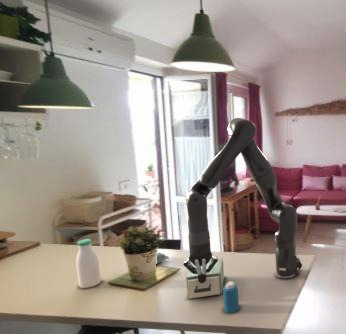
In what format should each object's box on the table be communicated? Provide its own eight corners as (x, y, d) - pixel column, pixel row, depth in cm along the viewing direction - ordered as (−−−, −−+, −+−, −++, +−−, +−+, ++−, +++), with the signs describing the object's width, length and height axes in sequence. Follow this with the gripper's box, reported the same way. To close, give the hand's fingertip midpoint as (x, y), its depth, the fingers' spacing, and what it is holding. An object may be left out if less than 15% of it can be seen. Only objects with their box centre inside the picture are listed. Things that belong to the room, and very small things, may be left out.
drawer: (219, 299, 132) (217, 282, 130) (187, 304, 129) (185, 286, 127) (222, 278, 149) (220, 262, 147) (194, 282, 146) (192, 266, 144)
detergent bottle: (239, 304, 130) (237, 279, 128) (238, 311, 125) (237, 285, 123) (225, 306, 129) (223, 281, 127) (224, 314, 124) (222, 287, 122)
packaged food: (156, 256, 174) (155, 247, 173) (170, 261, 168) (169, 252, 167) (139, 263, 167) (138, 253, 166) (153, 268, 161) (152, 259, 160)
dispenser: (221, 293, 138) (220, 272, 136) (188, 298, 134) (186, 277, 133) (224, 277, 152) (222, 257, 150) (193, 281, 148) (191, 261, 147)
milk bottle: (103, 283, 147) (97, 240, 144) (81, 290, 142) (74, 245, 138) (98, 277, 152) (93, 236, 149) (77, 284, 147) (71, 241, 143)
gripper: (178, 246, 124) (182, 289, 127) (216, 242, 127) (219, 284, 130) (182, 239, 131) (186, 280, 134) (218, 235, 135) (221, 275, 137)
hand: (202, 282), depth 132 cm, fingers closed
